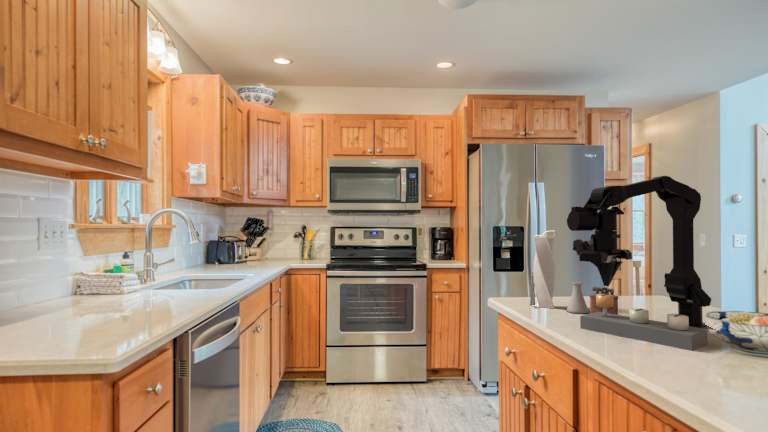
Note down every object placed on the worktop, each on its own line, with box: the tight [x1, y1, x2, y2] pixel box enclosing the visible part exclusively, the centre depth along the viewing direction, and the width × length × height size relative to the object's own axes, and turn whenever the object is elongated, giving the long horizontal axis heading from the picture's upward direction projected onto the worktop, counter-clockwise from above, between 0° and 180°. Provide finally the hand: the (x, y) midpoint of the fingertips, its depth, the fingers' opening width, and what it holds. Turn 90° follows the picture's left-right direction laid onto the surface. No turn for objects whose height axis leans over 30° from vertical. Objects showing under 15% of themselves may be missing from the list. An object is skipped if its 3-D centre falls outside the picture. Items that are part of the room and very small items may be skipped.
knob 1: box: [595, 293, 614, 317], centre depth 119 cm, size 4×4×7 cm
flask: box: [566, 281, 590, 314], centre depth 143 cm, size 7×7×10 cm
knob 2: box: [666, 313, 689, 330], centre depth 105 cm, size 4×4×7 cm
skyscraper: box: [529, 229, 556, 310], centre depth 152 cm, size 8×8×28 cm
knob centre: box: [628, 308, 650, 323], centre depth 112 cm, size 4×4×7 cm
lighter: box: [589, 286, 619, 315], centre depth 132 cm, size 8×3×10 cm, turn 58°
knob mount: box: [579, 312, 709, 351], centre depth 112 cm, size 10×27×4 cm, turn 35°
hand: (606, 286), depth 119 cm, fingers closed
